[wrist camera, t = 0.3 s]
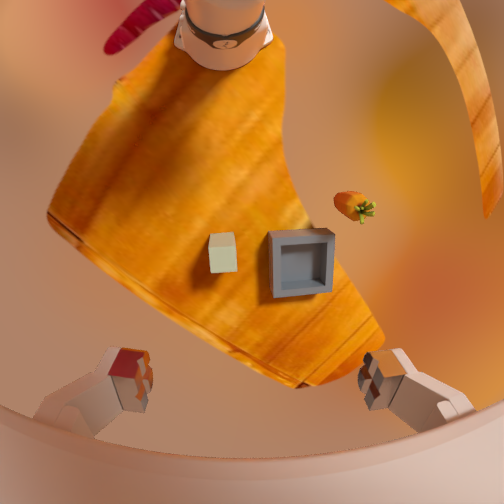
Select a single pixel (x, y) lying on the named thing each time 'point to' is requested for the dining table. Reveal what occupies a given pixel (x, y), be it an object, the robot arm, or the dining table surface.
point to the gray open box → (301, 261)
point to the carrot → (354, 205)
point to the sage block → (222, 252)
